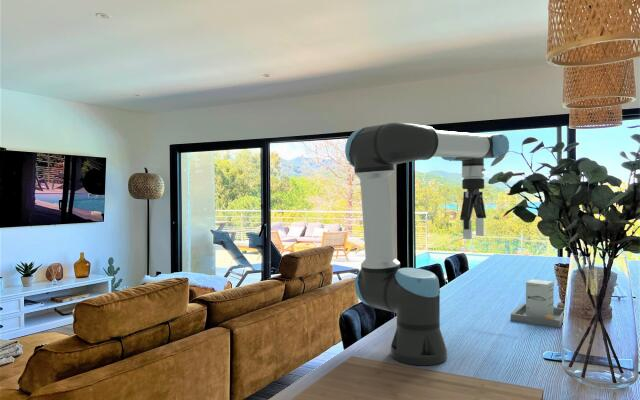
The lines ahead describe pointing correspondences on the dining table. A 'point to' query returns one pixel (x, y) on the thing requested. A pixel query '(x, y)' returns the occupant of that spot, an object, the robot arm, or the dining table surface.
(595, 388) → the dining table surface
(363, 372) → the dining table surface
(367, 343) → the dining table surface
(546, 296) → the supplement box
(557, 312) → the tray
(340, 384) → the dining table surface
